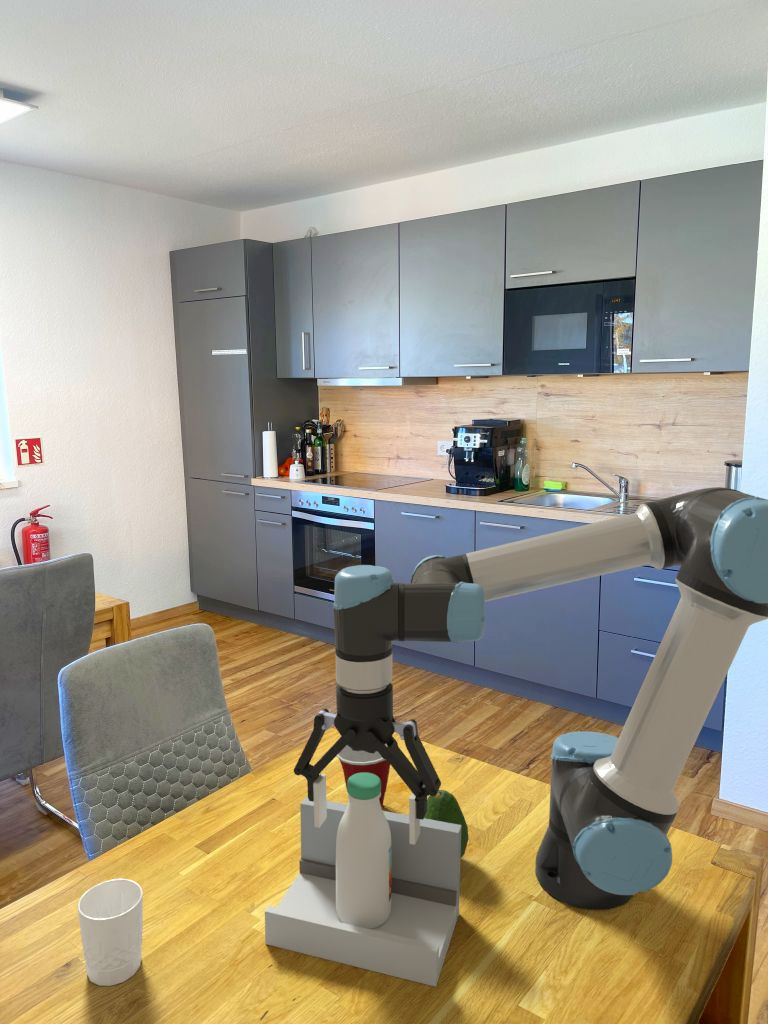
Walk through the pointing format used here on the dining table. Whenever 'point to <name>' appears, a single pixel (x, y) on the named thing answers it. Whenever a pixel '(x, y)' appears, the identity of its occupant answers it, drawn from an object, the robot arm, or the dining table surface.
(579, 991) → the dining table surface
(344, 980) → the dining table surface
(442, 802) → the avocado
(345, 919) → the milk bottle
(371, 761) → the plastic cup
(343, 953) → the board
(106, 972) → the white cup
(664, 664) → the robot arm
